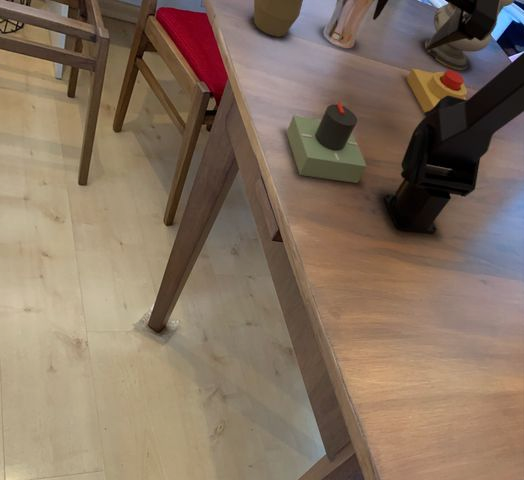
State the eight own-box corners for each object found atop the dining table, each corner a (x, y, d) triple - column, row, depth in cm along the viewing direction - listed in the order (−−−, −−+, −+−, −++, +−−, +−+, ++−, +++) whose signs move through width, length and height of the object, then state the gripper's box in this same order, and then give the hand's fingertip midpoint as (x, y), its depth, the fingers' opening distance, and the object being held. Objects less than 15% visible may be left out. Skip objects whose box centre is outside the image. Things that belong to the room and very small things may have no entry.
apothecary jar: (408, 41, 112) (461, -59, 98) (440, 35, 119) (493, -59, 105) (452, 77, 109) (513, -21, 95) (481, 69, 116) (542, -24, 102)
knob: (348, 152, 77) (362, 125, 73) (319, 147, 75) (332, 120, 72) (340, 132, 79) (353, 105, 76) (312, 127, 77) (324, 99, 74)
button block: (470, 128, 99) (484, 108, 96) (428, 120, 96) (441, 99, 93) (446, 88, 105) (458, 68, 102) (406, 79, 102) (417, 58, 99)
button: (461, 93, 98) (467, 84, 96) (444, 89, 96) (450, 80, 95) (453, 81, 99) (459, 72, 98) (437, 77, 98) (442, 68, 97)
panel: (357, 183, 79) (367, 165, 76) (299, 175, 76) (308, 156, 73) (341, 142, 83) (350, 124, 81) (285, 133, 80) (293, 113, 78)
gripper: (539, -66, 73) (460, 24, 87) (420, -148, 68) (357, -38, 82) (530, -6, 69) (449, 78, 84) (404, -87, 65) (341, 16, 79)
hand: (400, 32), depth 82 cm, fingers open, 9 cm apart
